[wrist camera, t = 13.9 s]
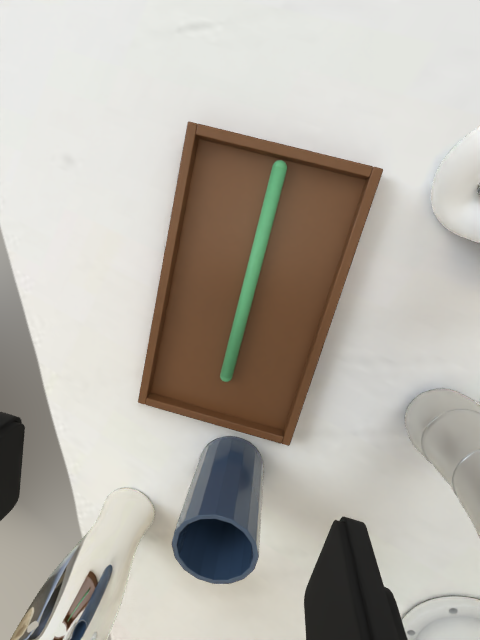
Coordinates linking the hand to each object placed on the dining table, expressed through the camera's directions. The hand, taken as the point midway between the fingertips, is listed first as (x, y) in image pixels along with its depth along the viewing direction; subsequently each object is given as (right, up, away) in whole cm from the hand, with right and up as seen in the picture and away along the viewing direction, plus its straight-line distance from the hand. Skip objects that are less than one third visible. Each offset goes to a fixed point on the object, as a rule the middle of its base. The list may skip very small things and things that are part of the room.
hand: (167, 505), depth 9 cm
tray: (+3, +7, +21) cm, 22 cm away
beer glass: (-11, -17, +29) cm, 35 cm away
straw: (+1, +2, +25) cm, 26 cm away
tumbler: (+1, -10, +26) cm, 28 cm away
